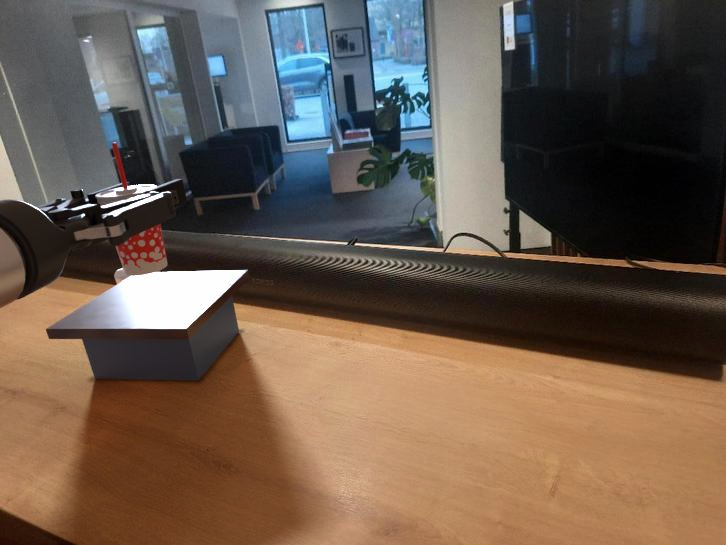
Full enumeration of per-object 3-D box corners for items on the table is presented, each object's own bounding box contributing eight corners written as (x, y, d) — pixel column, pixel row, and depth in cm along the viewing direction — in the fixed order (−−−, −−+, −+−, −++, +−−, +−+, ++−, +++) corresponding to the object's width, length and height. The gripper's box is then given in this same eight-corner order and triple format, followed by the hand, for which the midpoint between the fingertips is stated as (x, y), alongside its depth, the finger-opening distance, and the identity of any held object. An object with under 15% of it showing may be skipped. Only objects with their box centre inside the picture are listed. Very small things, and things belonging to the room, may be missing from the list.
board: (48, 339, 65) (45, 329, 64) (137, 281, 83) (135, 272, 83) (189, 339, 61) (186, 328, 60) (249, 278, 79) (247, 269, 79)
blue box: (94, 378, 70) (78, 328, 67) (149, 331, 83) (137, 287, 80) (198, 380, 67) (186, 328, 64) (239, 331, 80) (230, 286, 77)
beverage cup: (179, 268, 55) (149, 140, 50) (120, 282, 53) (82, 148, 48) (169, 255, 60) (141, 137, 55) (115, 267, 58) (80, 145, 53)
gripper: (-96, 304, 40) (93, 225, 62) (112, 302, 37) (236, 219, 58) (-137, 215, 38) (75, 164, 59) (83, 204, 34) (224, 154, 55)
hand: (155, 192), depth 58 cm, fingers closed on beverage cup, 6 cm apart
